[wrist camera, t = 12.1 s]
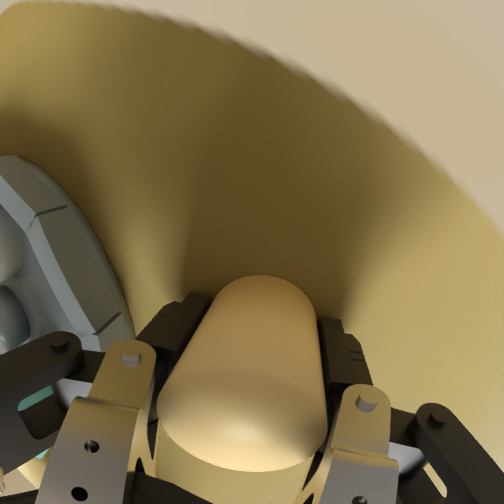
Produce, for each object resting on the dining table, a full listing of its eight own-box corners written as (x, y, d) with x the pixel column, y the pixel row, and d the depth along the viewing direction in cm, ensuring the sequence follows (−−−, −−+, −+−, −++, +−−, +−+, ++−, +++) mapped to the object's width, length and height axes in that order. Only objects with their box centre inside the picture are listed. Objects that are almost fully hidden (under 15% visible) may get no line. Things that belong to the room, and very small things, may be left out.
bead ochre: (331, 349, 10) (345, 455, 6) (238, 377, 11) (210, 476, 7) (291, 257, 10) (289, 343, 5) (190, 297, 11) (125, 384, 6)
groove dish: (205, 410, 12) (190, 451, 10) (43, 419, 16) (28, 437, 14) (43, 86, 9) (2, 80, 6) (-54, 239, 13) (-75, 248, 10)
